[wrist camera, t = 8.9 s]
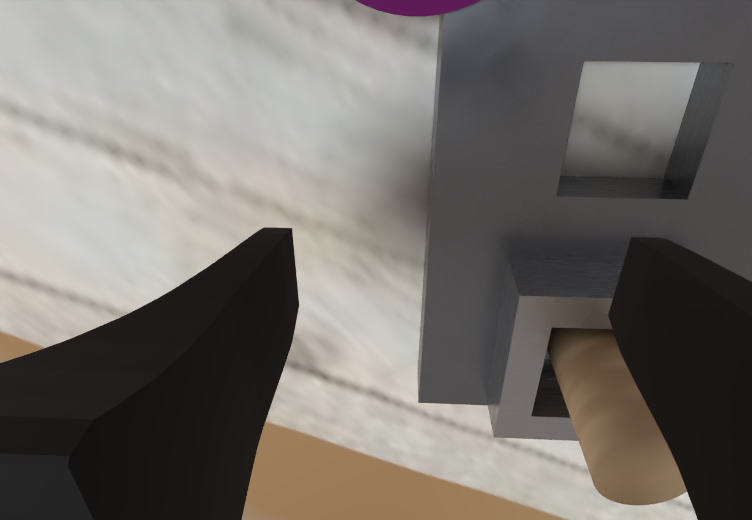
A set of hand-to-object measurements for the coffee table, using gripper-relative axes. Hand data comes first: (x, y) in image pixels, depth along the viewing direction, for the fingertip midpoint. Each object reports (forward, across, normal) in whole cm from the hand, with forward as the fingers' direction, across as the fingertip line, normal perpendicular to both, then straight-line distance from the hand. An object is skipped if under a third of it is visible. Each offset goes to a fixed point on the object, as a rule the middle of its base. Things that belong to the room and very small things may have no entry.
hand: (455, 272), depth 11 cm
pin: (+10, -7, +8) cm, 15 cm away
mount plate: (+10, -7, +4) cm, 13 cm away
